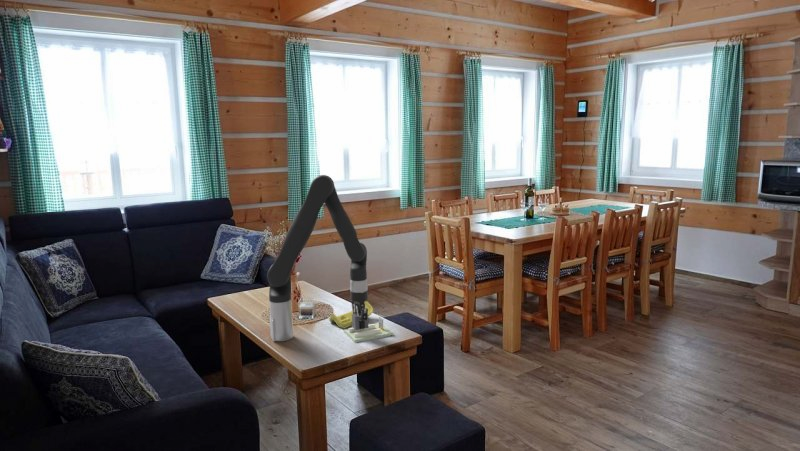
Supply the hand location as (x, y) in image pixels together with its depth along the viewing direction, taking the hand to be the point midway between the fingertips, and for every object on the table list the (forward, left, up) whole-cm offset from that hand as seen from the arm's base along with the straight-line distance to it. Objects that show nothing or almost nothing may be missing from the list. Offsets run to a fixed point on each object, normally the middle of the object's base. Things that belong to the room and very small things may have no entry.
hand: (360, 326), depth 238 cm
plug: (0, 0, 0) cm, 0 cm away
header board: (+4, 0, -4) cm, 6 cm away
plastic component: (+3, +18, -4) cm, 19 cm away
